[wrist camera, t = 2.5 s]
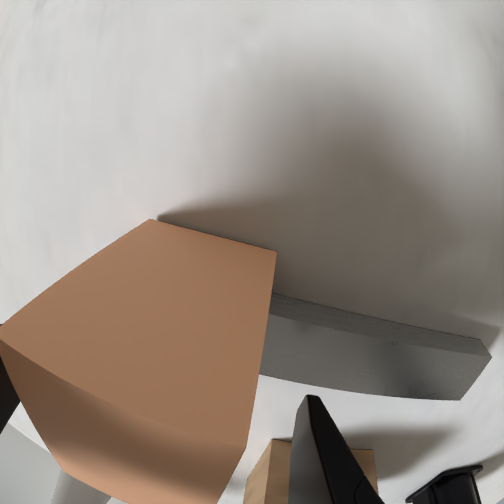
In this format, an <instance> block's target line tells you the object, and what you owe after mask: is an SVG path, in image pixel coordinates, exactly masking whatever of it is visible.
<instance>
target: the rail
mask: <svg viewBox="0 0 504 504" xmlns="http://www.w3.org/2000/svg"><path fill="white" fill-rule="evenodd" d="M491 358H492V356H491V355H490V353H489V352H488V350H487V349H486V347H485V346H484V345H483V343H482V342H481V340H480V339H474V338H469V337H463V336H458V335H453V334H448V333H443V332H438V331H433V330H428V329H423V328H418V327H414V326H409V325H404V324H400V323H395V322H390V321H386V320H381V319H377V318H372V317H368V316H363V315H359V314H355V313H350V312H346V311H342V310H338V309H334V308H329V307H325V306H321V305H317V304H313V303H309V302H305V301H301V300H297V299H293V298H289V297H285V296H281V295H277V294H273V293H271V299H270V306H269V313H268V319H267V326H266V333H265V339H264V345H263V352H262V358H261V364H260V370H259V374H261V375H265V376H269V377H274V378H278V379H283V380H288V381H293V382H298V383H303V384H308V385H313V386H319V387H325V388H331V389H337V390H343V391H350V392H357V393H365V394H373V395H381V396H391V397H402V398H414V399H431V400H461V398H462V397H463V396H464V395H465V394H466V392H467V391H468V390H469V388H470V387H471V386H472V385H473V383H474V382H475V381H476V379H477V378H478V377H479V375H480V374H481V372H482V371H483V370H484V368H485V367H486V365H487V364H488V362H489V361H490V360H491Z"/></svg>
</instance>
